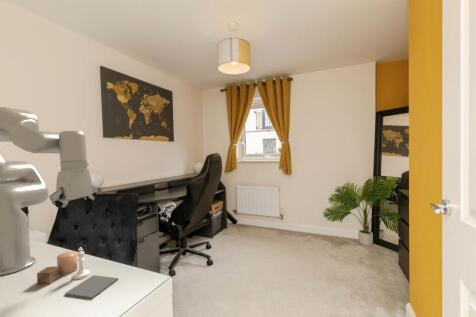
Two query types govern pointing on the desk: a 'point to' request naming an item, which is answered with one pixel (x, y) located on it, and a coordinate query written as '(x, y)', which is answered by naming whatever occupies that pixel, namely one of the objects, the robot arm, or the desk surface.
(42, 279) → the walnut block
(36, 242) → the desk surface
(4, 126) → the robot arm
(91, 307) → the desk surface
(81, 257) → the chess piece
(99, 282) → the coaster
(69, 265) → the peach rounded dome
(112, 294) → the desk surface
